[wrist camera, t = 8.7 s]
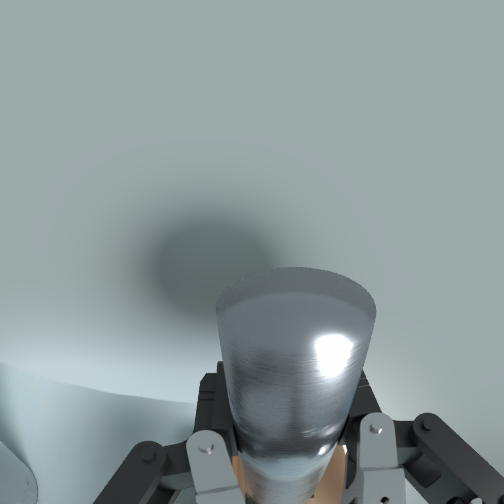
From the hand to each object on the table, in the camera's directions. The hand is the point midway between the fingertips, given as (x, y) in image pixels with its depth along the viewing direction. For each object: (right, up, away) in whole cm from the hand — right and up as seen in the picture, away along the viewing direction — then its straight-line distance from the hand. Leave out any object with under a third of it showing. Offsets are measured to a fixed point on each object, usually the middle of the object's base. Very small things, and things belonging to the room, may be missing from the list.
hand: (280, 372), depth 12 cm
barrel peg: (0, -7, 0) cm, 7 cm away
